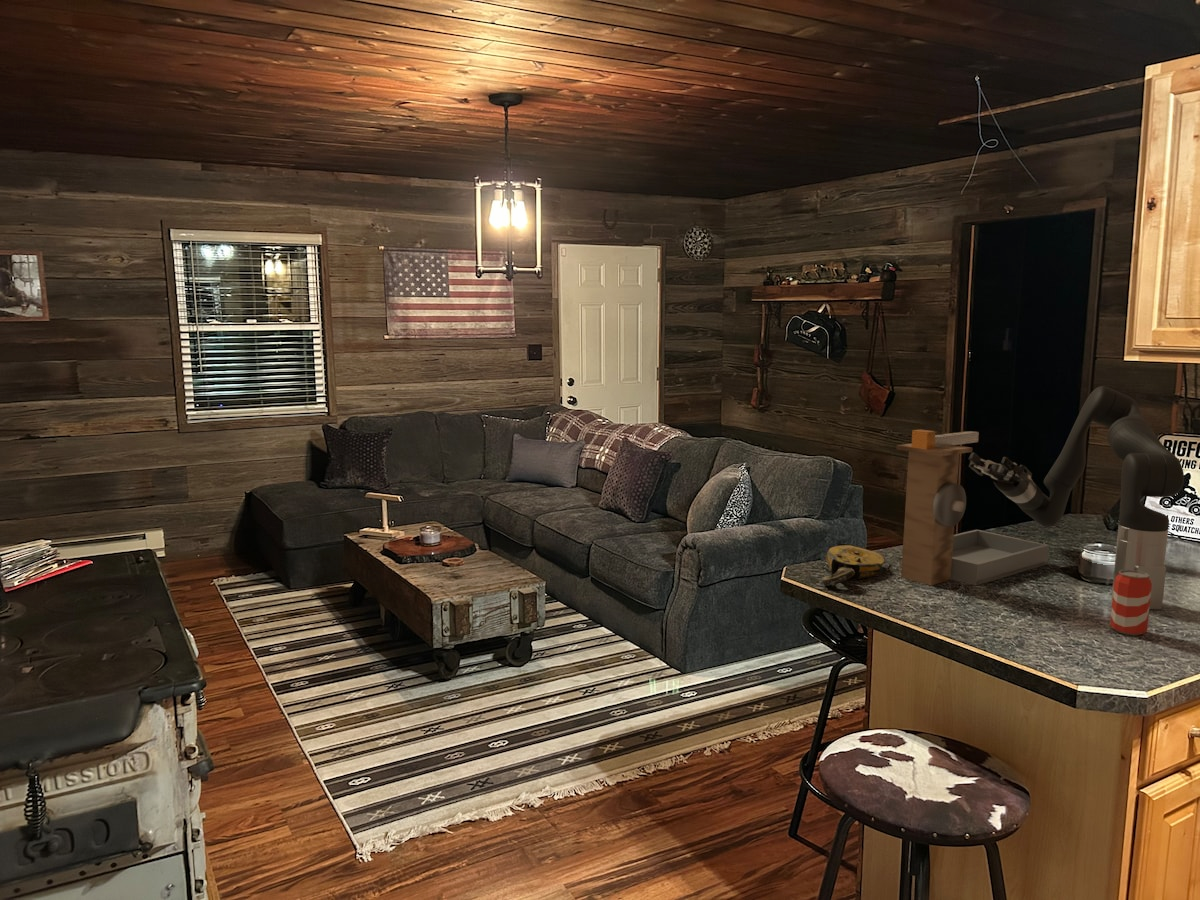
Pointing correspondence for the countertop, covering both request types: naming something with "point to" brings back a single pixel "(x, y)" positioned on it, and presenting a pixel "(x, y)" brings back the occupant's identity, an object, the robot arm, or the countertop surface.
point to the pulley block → (851, 564)
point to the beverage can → (1131, 602)
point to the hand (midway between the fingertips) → (987, 458)
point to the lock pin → (941, 439)
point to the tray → (993, 556)
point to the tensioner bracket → (931, 512)
